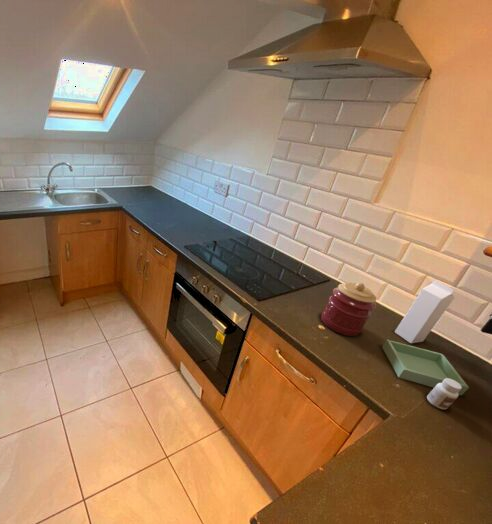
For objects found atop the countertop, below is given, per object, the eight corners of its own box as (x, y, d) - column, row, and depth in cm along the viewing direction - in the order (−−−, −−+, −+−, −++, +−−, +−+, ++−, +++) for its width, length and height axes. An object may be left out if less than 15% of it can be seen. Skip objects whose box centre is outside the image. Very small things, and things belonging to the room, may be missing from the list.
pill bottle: (441, 412, 79) (459, 392, 75) (422, 398, 82) (438, 378, 78) (450, 407, 80) (468, 387, 77) (431, 393, 84) (447, 374, 80)
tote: (436, 361, 96) (442, 354, 94) (461, 395, 84) (469, 387, 83) (381, 346, 100) (386, 339, 98) (398, 377, 88) (404, 369, 87)
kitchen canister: (345, 340, 101) (369, 297, 92) (312, 316, 111) (331, 276, 103) (368, 332, 106) (393, 291, 98) (335, 310, 116) (355, 271, 108)
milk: (410, 343, 103) (448, 290, 92) (393, 331, 108) (427, 280, 97) (423, 341, 104) (461, 289, 94) (405, 330, 109) (440, 279, 99)
